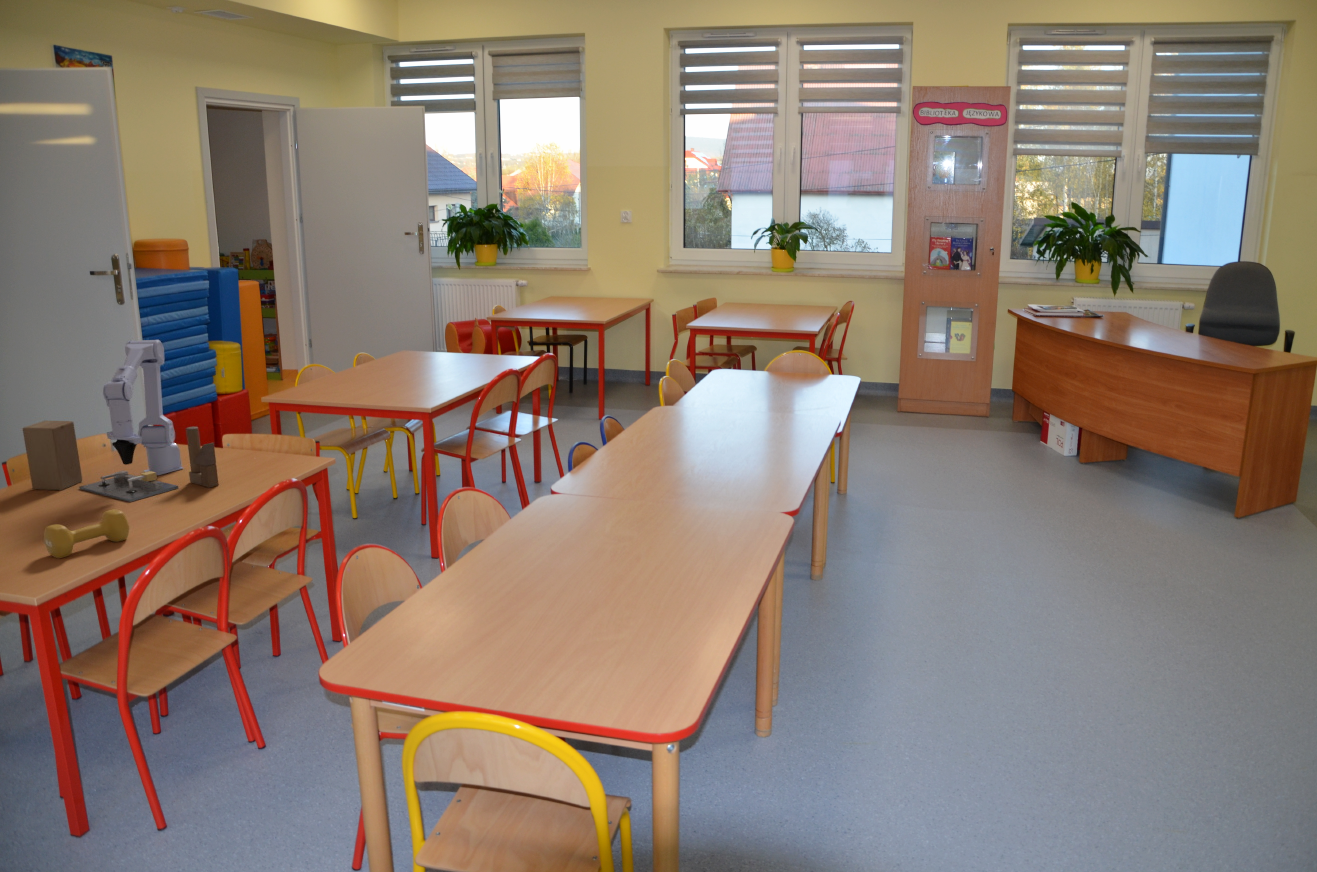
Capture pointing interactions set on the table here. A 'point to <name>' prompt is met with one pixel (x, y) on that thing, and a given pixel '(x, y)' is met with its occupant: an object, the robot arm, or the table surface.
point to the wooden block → (52, 455)
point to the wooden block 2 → (201, 460)
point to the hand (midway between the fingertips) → (127, 463)
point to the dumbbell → (85, 533)
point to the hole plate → (127, 487)
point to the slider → (143, 478)
